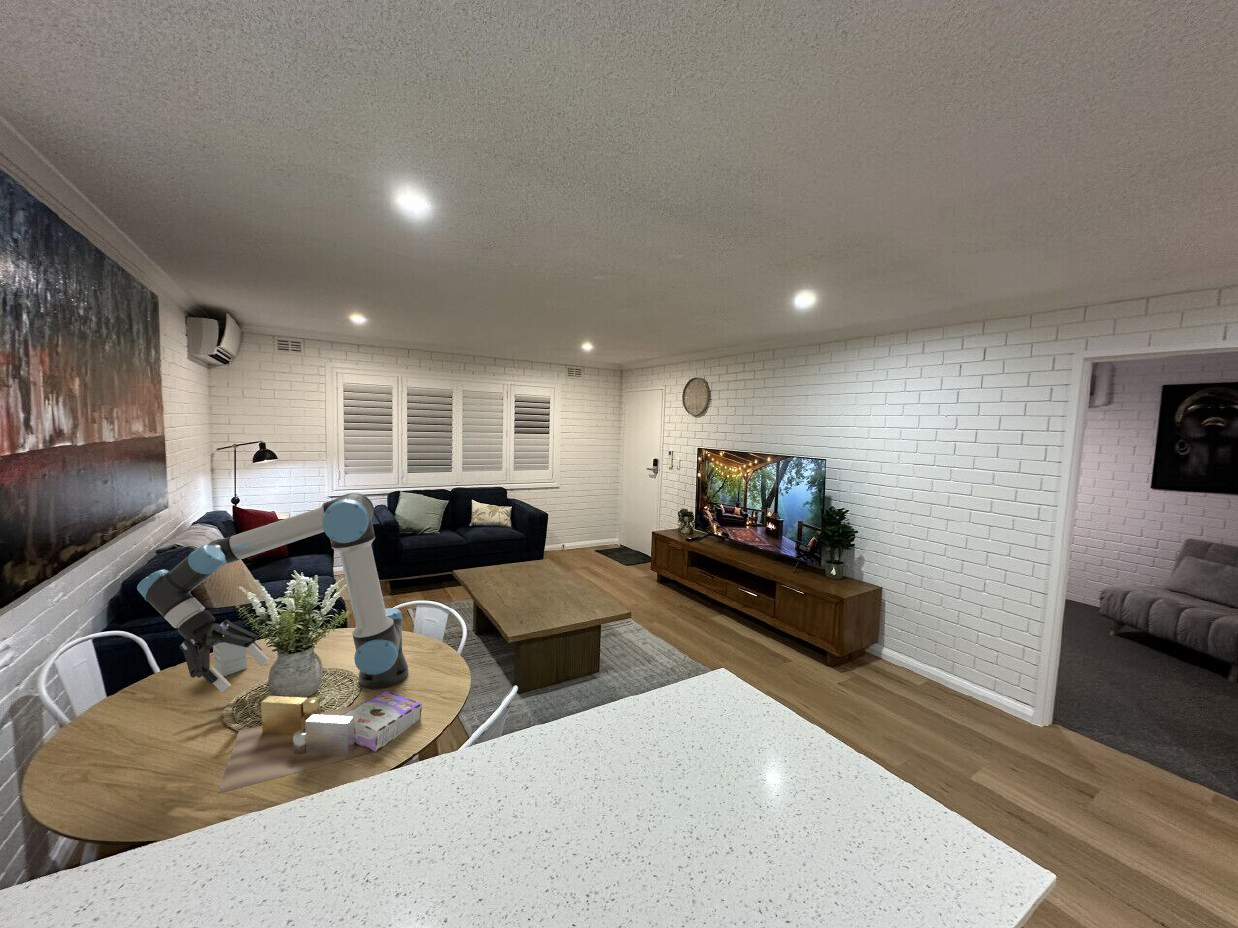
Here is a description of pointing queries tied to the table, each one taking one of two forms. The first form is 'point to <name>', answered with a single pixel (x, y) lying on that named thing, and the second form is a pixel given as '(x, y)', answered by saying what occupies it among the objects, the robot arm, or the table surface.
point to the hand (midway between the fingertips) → (247, 675)
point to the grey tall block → (229, 658)
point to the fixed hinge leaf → (325, 736)
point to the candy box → (383, 719)
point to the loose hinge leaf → (287, 713)
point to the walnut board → (274, 756)
